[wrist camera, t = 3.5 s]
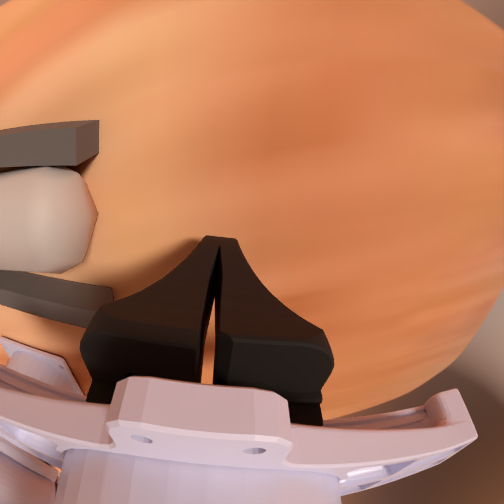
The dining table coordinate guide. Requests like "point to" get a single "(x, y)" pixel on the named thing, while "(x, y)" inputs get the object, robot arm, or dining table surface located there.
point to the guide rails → (37, 286)
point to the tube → (44, 219)
